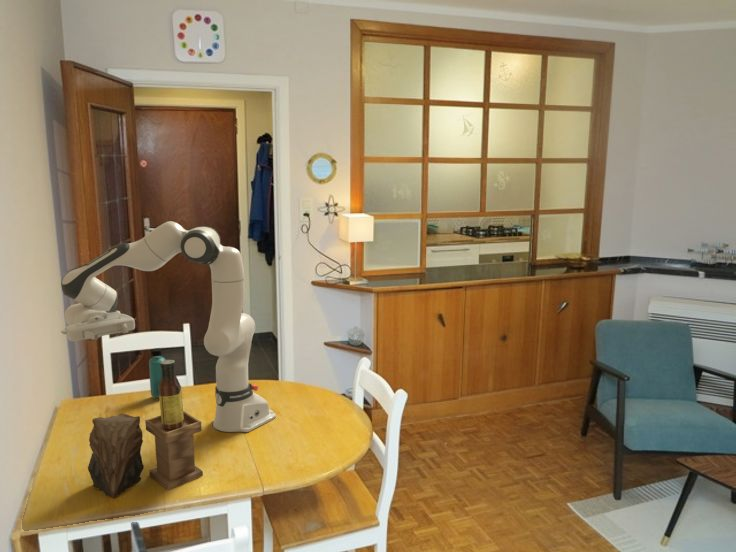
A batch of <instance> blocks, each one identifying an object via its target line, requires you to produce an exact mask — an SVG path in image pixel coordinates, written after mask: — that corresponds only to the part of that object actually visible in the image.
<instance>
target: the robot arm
mask: <svg viewBox="0 0 736 552" xmlns="http://www.w3.org/2000/svg"><path fill="white" fill-rule="evenodd" d="M221 237H222V236H221V235H220V233H219V232H218V231H217V229H215V228H214V227H211V226H208V225H201V226H195V227H194V226H193V227H190V228H188V229H185V228H184V227H183V226H182V225H181V224H179V223H177V222H176V221H170V220H169V221H165V222H164V223H162V224H160V225H158V226H157V227H155V228H154V229H152V230H151V231H150V232H148V233H147V234H146V235H145V236H144V237H142V238H140V239H138V240H136V241H134V242H130V243H129V242H128V243H127V242H121V243H119V244H117V245H115V246H113V247H111V248H110V249H108V250H106V251H104V252H102V253H101V254H100V255H98V256H96V257H94V258H93V259H92V260H90V261H87V262H86V263H84V264H82V265H80V266H78V267H75V268H73V269H72V270H70V271H68V272H67V273H66V274H65V275H64V276H63V278H62V280H61V282H60V283H61V284H60V285H61V290H62V293H63V295H64V296H65V297H68V298H69V299H72V300H75V301H76V302H78V303H76V304H75V303H74V304H72V305H69V306H68V307H67V308H66V310H65V312H64V321H65V323H66V324H67V325H66V326H65V328H64V329H61V331H60V332H61V333H62V334H63V335H66V336H65V337H66V338H67V340H69V342H78V341H80V342H81V341H84V340H90V339H91V340H92V341H93V340H98V339H99V338H101V337H103V336H108V335H109V336H111V335H114V334H118V333H119V334H120V333H122V334H128V333H129V331H134V330H135V329H136V321H135V318H133V317H132V316H130V315H128V314H126V313H121V311H120V310H115V309H116V308H117V306H118V302H119V301H118V300H119V296H118V291H117V290H115V289H114V288H112V287H111V286H110V285H108V284H107V283H104V282H103V281H102V280H100V279H98V278H97V276H99V275H101V274H102V273H104V272H105V271H106V270H108V269H110V268H112V267H114V266H124V267H125V266H126V267H129V268H132V269H136V270H139V271H143V272H154V271H156V270H159V269H160V268H162V267H163V266H164V265H165V264H167V263H168V262H169V261H171V259H172V258H174V257H175V256H176V255H178V254H180V253H182V255H183V256H184V258H186V259H187V260H189V261H191V262H193V263H198V264H200V265H204V266H209V268H210V273H211V275H210V276H211V277H210V278H211V294H212V296H211V299H212V304H211V310H210V317H209V322H208V328H207V330H206V333H205V334H204V337H203V345H204V347H205V350H206V351H207V352H208V353H209V354H210V355H213V356H215V357H218V359H217V362H216V365H215V382H216V386H215V387H214V388H215V390H214V391H215V393H214V394H215V397H214V398H215V403H216V406H215V417H214V420H213V423H212V424H213V425H212V427H213V428H214V429H215V430H218V431H220V432H226V433H234V432H235V433H236V432H243V433H248V432H251V431H253V430H255V429H257V428H259V427H261V426H263V425H265V424H266V423H268V422H270V421H272V420H274V419H275V418H276V417H277V416H276V413H275V411H273V410H272V409H270V406H269V403H268V401H267V399H265V398H264V397H262V396H261V395H259V394H257V393H255V392H257V391H258V390H259V385H257V384H252V383H250V382H249V360H250V353H251V347H252V340H253V337H254V333H255V331H256V323H255V319H253V317H252V316H251V315H249V314H247V313H244V312H243V310H244V305H245V303H246V279H245V268H244V262H243V258H242V253H241V251H240V250H239V249H237V248H235V247H234V246H224V245H222V238H221ZM254 391H255V392H254Z"/></svg>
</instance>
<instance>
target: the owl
mask: <svg viewBox="0 0 736 552" xmlns="http://www.w3.org/2000/svg"><path fill="white" fill-rule="evenodd" d="M140 424H141V417H140V416H139V415H138V416H134V415H130V414H129V415H128V414H126V413H119V414H117V415H111V416H108V417H107V416H106V417H95V418H93V419H92V425H93V427H92V429H91V432H90V433H89V437H88V442H89V447H90V449H91V451H92V453H91V457H90V458H89V463H88V465H87V466H88V467H87V471H88V472H89V475H90V478H91V481H92V485H93V488H95V489H97V490H98V491H99V492H102V493H103V494H105V496H108V497H110V498H112V499H115V498H117V497H118V496H120V495H121V494H123V493H124V492H125V491H127V490H129V489H130V488H132V487H133V486H134V485H135V484H137V483H139V482H141V479H142V478H141V474H142V473H143V470H144V463H143V459H142V454H141V450H142V445H143V442H144V440H143V431H142V429H141V426H140Z"/></svg>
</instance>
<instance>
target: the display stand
mask: <svg viewBox="0 0 736 552" xmlns="http://www.w3.org/2000/svg"><path fill="white" fill-rule="evenodd" d="M183 416H184V420H183V421H184V424H183V426H182V427H180V428H178V429H174V430H167V429H164V428H163V426H162V421H161V415H157V416H155V417H150V418H148V419H145V421H144V422H145V430H146V432H149V433H150V434H151V435H153V436H154V445H155V447H154V448H155V461H156V463H155V464H156V468H153V469H151V470H149V476H150V477H151V478H152V479H154V480H155V481H156V482H157V483H159V484H160V485H161V486H162V487H163V488H164V489H166V490H167V491H169V490H172V489H174V488H177V487H178V486H180V485H183V484H186V483H188V482H191V481H193V480H195V479H198V478H200V477H202V476H204V474H203V473H204V472H203V470H202V469H200V468H199V467H198V466H196V465H195V463H196V462H195V445H194V435H195V434H198V433H200V432H202V421H201V420H199V419H197V418H196V417H194V416H193V415H191V414H189V413H187V412H186V411H184V410H183Z"/></svg>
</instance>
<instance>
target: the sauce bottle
mask: <svg viewBox="0 0 736 552" xmlns="http://www.w3.org/2000/svg"><path fill="white" fill-rule="evenodd" d="M160 367H161V369H162V379H161V381H160V383H159V397H158V399H159V409H160V416H161V421H162V426H163V428H164V429H167V430H174V429H178V428H180V427H182V426H183V424H184V421H183V420H184V416H183V411H184V408H183V405H184V404H183V394H182V392H183V391H182V386H181V384H180V382H179V380H178V377H177V375H176V374H177V373H176V361H175V360H174V359H165V360H164V361H162V362H161V363H160Z"/></svg>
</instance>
